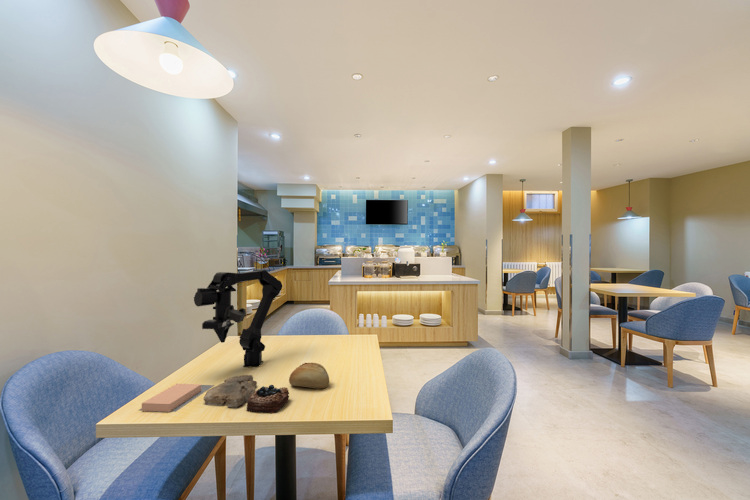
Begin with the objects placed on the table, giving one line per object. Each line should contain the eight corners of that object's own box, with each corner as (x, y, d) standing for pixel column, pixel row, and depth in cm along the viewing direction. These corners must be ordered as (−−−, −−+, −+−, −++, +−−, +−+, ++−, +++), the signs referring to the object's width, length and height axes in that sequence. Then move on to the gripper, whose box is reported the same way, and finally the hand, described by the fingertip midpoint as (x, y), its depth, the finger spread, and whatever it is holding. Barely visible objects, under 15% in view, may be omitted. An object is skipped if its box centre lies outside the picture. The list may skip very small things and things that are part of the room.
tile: (176, 383, 111) (141, 403, 96) (201, 384, 110) (169, 404, 95) (176, 390, 111) (141, 411, 96) (201, 391, 110) (169, 412, 95)
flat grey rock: (231, 383, 119) (196, 407, 99) (232, 370, 119) (197, 391, 99) (267, 385, 118) (239, 410, 98) (268, 372, 118) (239, 394, 98)
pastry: (278, 415, 94) (278, 395, 94) (240, 412, 96) (240, 393, 96) (292, 399, 105) (292, 381, 105) (258, 397, 107) (258, 379, 107)
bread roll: (294, 380, 121) (294, 359, 121) (332, 382, 119) (332, 360, 119) (284, 390, 111) (284, 367, 112) (325, 392, 110) (325, 369, 110)
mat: (183, 385, 116) (183, 384, 116) (214, 386, 115) (214, 385, 115) (138, 411, 96) (138, 410, 96) (175, 413, 95) (175, 411, 95)
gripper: (229, 306, 118) (229, 349, 117) (253, 300, 136) (253, 337, 136) (201, 306, 118) (200, 348, 118) (228, 300, 137) (228, 336, 137)
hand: (222, 342), depth 127 cm, fingers closed
